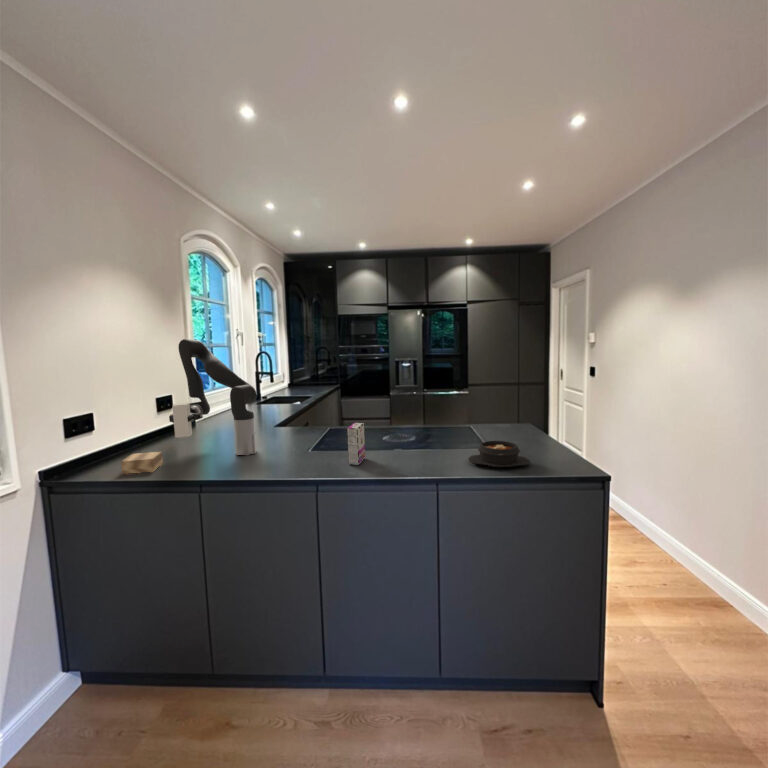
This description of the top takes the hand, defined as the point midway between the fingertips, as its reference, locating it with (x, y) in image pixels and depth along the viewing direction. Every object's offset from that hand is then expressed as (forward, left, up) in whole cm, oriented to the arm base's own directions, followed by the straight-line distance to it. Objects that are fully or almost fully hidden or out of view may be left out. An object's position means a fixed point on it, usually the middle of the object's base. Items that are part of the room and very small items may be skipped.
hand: (180, 419), depth 173 cm
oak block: (+17, -3, -21) cm, 27 cm away
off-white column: (0, -2, -8) cm, 8 cm away
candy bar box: (-74, +14, -21) cm, 78 cm away
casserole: (-131, +35, -21) cm, 137 cm away
